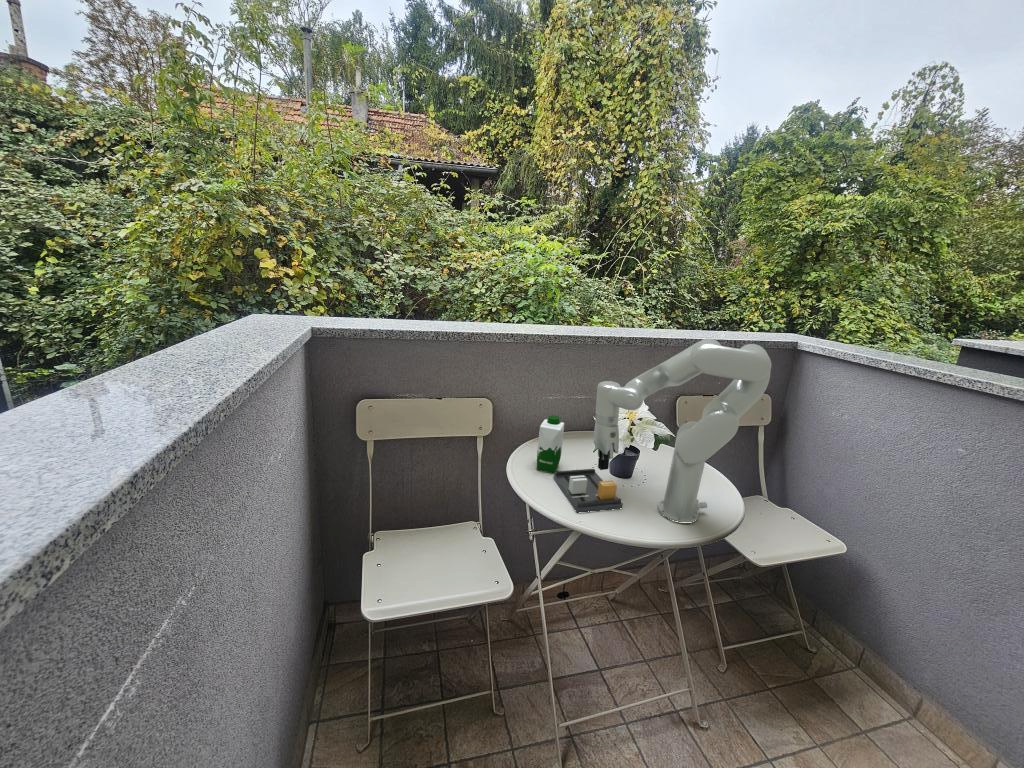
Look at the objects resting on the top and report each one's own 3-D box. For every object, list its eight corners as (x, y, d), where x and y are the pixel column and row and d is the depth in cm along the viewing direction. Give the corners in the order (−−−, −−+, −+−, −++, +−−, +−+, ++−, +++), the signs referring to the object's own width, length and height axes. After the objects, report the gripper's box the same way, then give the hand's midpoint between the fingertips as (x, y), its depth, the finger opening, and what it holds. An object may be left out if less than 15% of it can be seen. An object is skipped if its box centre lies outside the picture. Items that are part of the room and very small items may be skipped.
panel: (593, 475, 165) (594, 467, 164) (622, 508, 145) (623, 500, 144) (553, 478, 161) (554, 470, 160) (577, 513, 141) (578, 504, 140)
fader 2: (610, 493, 149) (612, 479, 148) (614, 498, 147) (617, 484, 145) (597, 494, 148) (599, 481, 147) (601, 499, 145) (603, 485, 144)
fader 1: (582, 488, 151) (583, 474, 150) (585, 493, 149) (587, 479, 147) (568, 489, 150) (570, 475, 149) (571, 494, 147) (573, 480, 146)
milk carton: (561, 465, 171) (566, 417, 165) (556, 475, 163) (562, 425, 157) (539, 460, 174) (544, 413, 168) (533, 470, 166) (538, 421, 160)
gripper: (628, 425, 141) (623, 477, 146) (606, 410, 155) (603, 458, 160) (606, 427, 139) (602, 480, 144) (587, 412, 153) (584, 460, 158)
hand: (603, 468), depth 152 cm, fingers closed
